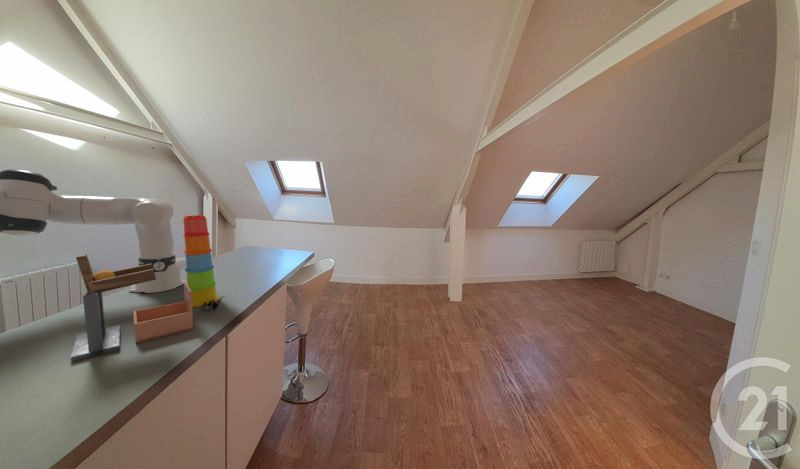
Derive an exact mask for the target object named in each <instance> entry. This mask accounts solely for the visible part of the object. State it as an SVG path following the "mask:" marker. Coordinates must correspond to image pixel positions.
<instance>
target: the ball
mask: <svg viewBox="0 0 800 469" xmlns="http://www.w3.org/2000/svg"><path fill="white" fill-rule="evenodd" d="M94 275H95V276H94V281H98V280H103V279H107V278H112V277H115V274H114V273H113V272H112V270H100V271H98V272H97V273H95V274H94Z"/></svg>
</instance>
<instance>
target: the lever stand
mask: <svg viewBox="0 0 800 469" xmlns="http://www.w3.org/2000/svg"><path fill="white" fill-rule="evenodd" d="M82 299H83V300H82V301H83V310H84V320H85V329H86V332H81V333H77V334H76V338H75V341H74V345H73V348H72V351H71V354H70V363H71V364H72V363H75V362H80V361H83V360H87V359H92V358H96V357H99V356H103V355H107V354H111V353H115V352H116V353H117V352H119V351H120V350H121V344H120V343H121V325H114V326H110V327H106V322H105V312H104V309H105V308H104V299H103V292H101V293H98V292H93V293H87V292H86V293H83V294H82Z"/></svg>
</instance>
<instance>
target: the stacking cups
mask: <svg viewBox="0 0 800 469" xmlns="http://www.w3.org/2000/svg"><path fill="white" fill-rule="evenodd" d="M207 221H208V220H207V218H206V216H205V215H201V214H200V215H199V214H198V215H185V216H184V218H183V231H184V233H183V237H184V247H185V251H184V252H183V254H185V266H186V268H185V269H184V271H185V272H186V283H187V284H188V286H189V288H190V289H191V291H192V308H198V307H199V308H201V307H202V306H201V305H203V304H204V302H208V303H209V302H210V301H214V300H215V302H216V303H217V301H219V297H218V295H217V293H216V291H217V290H216V285H217V281H216V280H215V275H214V269H215V266H214V265H213V260H212V259H213V258H212V251H213V249H212V248H211V245H210V244H211V243H210V237H209V236H210V232H209V231H208V222H207ZM207 299H208V300H207ZM213 299H214V300H213ZM208 303H207V305H208ZM212 304H213V302H212ZM204 306H205V305H204ZM204 306H203V307H204ZM205 307H206V306H205Z"/></svg>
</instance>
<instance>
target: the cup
mask: <svg viewBox="0 0 800 469" xmlns="http://www.w3.org/2000/svg"><path fill="white" fill-rule="evenodd" d="M183 294H184V297H183V298H184V301H180V302H174V303H169V304H168V303H167V304H162V305H158V306H157V305H156V306H152V307H147V308H141V309H136V310H133V312H132V313H133V326H134V327H133V328H134V335H135V337H134V338H135V344H141V343H145V342H148V341H152V340H156V339H160V338H165V337H168V336H169V337H170V336H172V335H177V334H181V333H185V332H189V331H190V332H191V331H194V317H193V314H194V313H193V307H192V291H191V289H190V288H189V286H188V284H187V281H186V282H184V285H183Z"/></svg>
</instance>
